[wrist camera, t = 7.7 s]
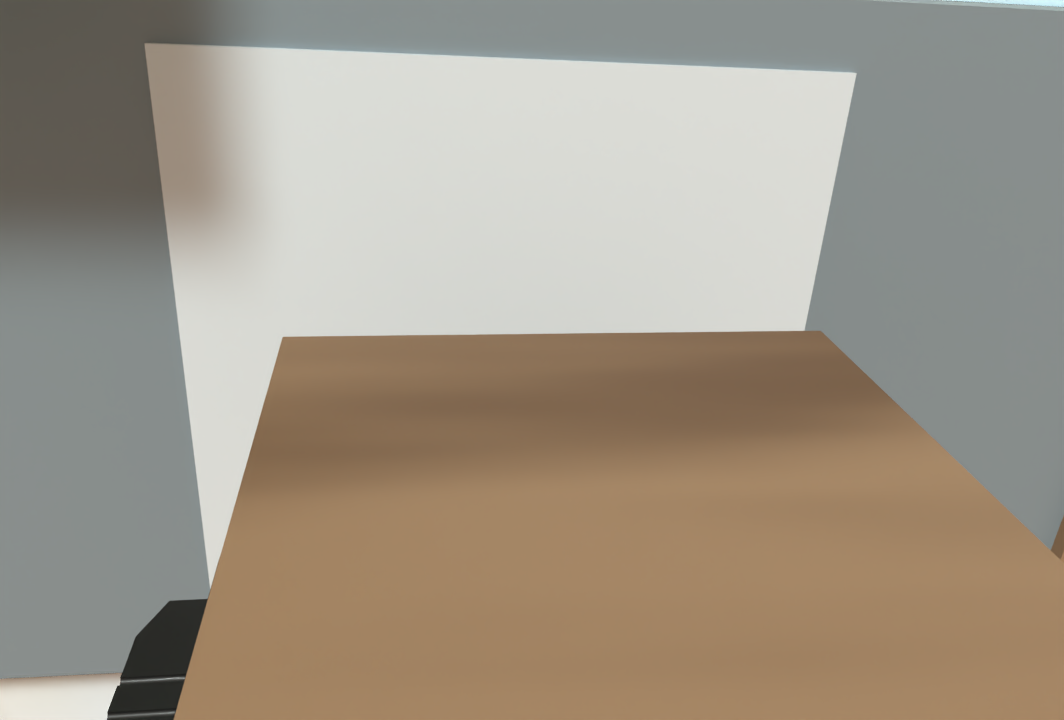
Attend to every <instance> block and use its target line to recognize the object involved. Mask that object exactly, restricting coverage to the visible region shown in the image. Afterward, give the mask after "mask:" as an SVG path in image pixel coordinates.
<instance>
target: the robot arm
mask: <svg viewBox="0 0 1064 720" xmlns="http://www.w3.org/2000/svg"><path fill="white" fill-rule="evenodd" d="M219 559H220V558H219ZM218 562H219V561H218ZM217 566H218V564H217ZM216 569H217V568H216ZM215 573H216V571H215ZM214 576H215V575H214ZM213 580H214V578H213ZM212 583H213V582H212ZM211 587H212V585H211ZM210 590H211V589H210ZM209 594H210V592H209ZM208 597H209V596H208ZM207 601H208V599H194V600H173V601H169V602H168V603H167V604H166V605H165V606H164V607H163V608H162V609H161V610H160V611H159V612H158V613H157V614H156V615H155V617H154V618H153V619H152V620H151V621H150V622H149V623H148V624H147V625H146V626H145V627H144V628H143V629H142V630H141V631H140V632H139V634H138V635H137V636H136V637H135V640H134V643H133V645H132V648H131V651H130V653H129V656H128V659H127V661H126V664H125V667H124V669H123V672H122V675H121V677H120V678H121V682H120V686H117V688H116V691H115V694H114V696H113V699H112V702H111V704H110V707H109V710H108V718H107V720H174V717H175V713H176V710H177V706H178V703H179V699H180V695H181V692H182V688H183V685H184V681H185V678H186V674H187V671H188V667H189V664H190V660H191V657H192V653H193V650H194V646H195V643H196V639H197V636H198V632H199V629H200V625H201V622H202V618H203V615H204V611H205V608H206V604H207Z"/></svg>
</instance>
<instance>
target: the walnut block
mask: <svg viewBox="0 0 1064 720" xmlns="http://www.w3.org/2000/svg"><path fill="white" fill-rule="evenodd" d="M174 720H1064V563H1063V562H1062V561H1061V560H1060V559H1059V558H1058V557H1057V556H1056V555H1055V554H1054V553H1053V552H1052V551H1051V550H1050V549H1049V548H1047V547H1046V546H1045V545H1044V544H1043V543H1042V542H1041V541H1040V540H1039V539H1038V538H1037V537H1036V536H1035V535H1034V534H1033V533H1032V532H1031V531H1030V530H1029V529H1028V528H1027V527H1025V526H1024V525H1023V524H1022V523H1021V522H1020V521H1019V520H1018V519H1017V518H1016V517H1015V516H1014V515H1013V514H1012V513H1011V512H1010V511H1009V510H1008V509H1007V508H1006V507H1005V506H1004V505H1002V504H1001V503H1000V502H999V501H998V500H997V499H996V498H995V497H994V496H993V495H992V494H991V493H990V492H989V491H988V490H987V489H986V488H985V487H984V486H983V485H982V484H981V483H979V482H978V481H977V480H976V479H975V478H974V477H973V476H972V475H971V474H970V473H969V472H968V471H967V470H966V469H965V468H964V467H963V466H962V465H961V464H960V463H959V462H958V461H956V460H955V459H954V458H953V457H952V456H951V455H950V454H949V453H948V452H947V451H946V450H945V449H944V448H943V447H942V446H941V445H940V444H939V443H938V442H937V441H936V440H935V439H933V438H932V437H931V436H930V435H929V434H928V433H927V432H926V431H925V430H924V429H923V428H922V427H921V426H920V425H919V424H918V423H917V422H916V421H915V420H914V419H913V418H911V417H910V416H909V415H908V414H907V413H906V412H905V411H904V410H903V409H902V408H901V407H900V406H899V405H898V404H897V403H896V402H895V401H894V400H893V399H892V398H891V397H890V396H888V395H887V394H886V393H885V392H884V391H883V390H882V389H881V388H880V387H879V386H878V385H877V384H876V383H875V382H874V381H873V380H872V379H871V378H870V377H869V376H868V375H867V374H865V373H864V372H863V371H862V370H861V369H860V368H859V367H858V366H857V365H856V364H855V363H854V362H853V361H852V360H851V359H850V358H849V357H848V356H847V355H846V354H845V353H844V352H842V351H841V350H840V349H839V348H838V347H837V346H836V345H835V344H834V343H833V342H832V341H831V340H830V339H829V338H828V337H827V336H826V335H825V334H824V333H823V332H822V331H744V332H655V333H567V334H478V335H390V336H301V337H282V341H281V344H280V348H279V351H278V355H277V359H276V362H275V366H274V369H273V373H272V376H271V380H270V383H269V387H268V390H267V394H266V397H265V401H264V404H263V408H262V411H261V415H260V418H259V422H258V425H257V429H256V432H255V436H254V439H253V443H252V446H251V450H250V453H249V457H248V460H247V464H246V467H245V471H244V474H243V478H242V481H241V485H240V488H239V492H238V495H237V499H236V502H235V506H234V509H233V513H232V516H231V520H230V523H229V527H228V531H227V534H226V538H225V541H224V545H223V548H222V552H221V555H220V559H219V562H218V566H217V569H216V573H215V576H214V580H213V583H212V587H211V590H210V594H209V597H208V601H207V604H206V608H205V611H204V615H203V618H202V622H201V625H200V629H199V632H198V636H197V639H196V643H195V646H194V650H193V653H192V657H191V660H190V664H189V667H188V671H187V674H186V678H185V681H184V685H183V688H182V692H181V695H180V699H179V703H178V706H177V710H176V713H175V717H174Z"/></svg>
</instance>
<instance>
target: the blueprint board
mask: <svg viewBox="0 0 1064 720" xmlns="http://www.w3.org/2000/svg"><path fill="white" fill-rule="evenodd" d="M744 331H822V332H823V333H824V334H825V335H826V336H827V337H828V338H829V339H830V340H831V341H832V342H833V343H834V344H835V345H836V346H837V347H838V348H839V349H840V350H841V351H842V352H844V353H845V354H846V355H847V356H848V357H849V358H850V359H851V360H852V361H853V362H854V363H855V364H856V365H857V366H858V367H859V368H860V369H861V370H862V371H863V372H864V373H865V374H867V375H868V376H869V377H870V378H871V379H872V380H873V381H874V382H875V383H876V384H877V385H878V386H879V387H880V388H881V389H882V390H883V391H884V392H885V393H886V394H887V395H888V396H890V397H891V398H892V399H893V400H894V401H895V402H896V403H897V404H898V405H899V406H900V407H901V408H902V409H903V410H904V411H905V412H906V413H907V414H908V415H909V416H910V417H911V418H913V419H914V420H915V421H916V422H917V423H918V424H919V425H920V426H921V427H922V428H923V429H924V430H925V431H926V432H927V433H928V434H929V435H930V436H931V437H932V438H933V439H935V440H936V441H937V442H938V443H939V444H940V445H941V446H942V447H943V448H944V449H945V450H946V451H947V452H948V453H949V454H950V455H951V456H952V457H953V458H954V459H955V460H956V461H958V462H959V463H960V464H961V465H962V466H963V467H964V468H965V469H966V470H967V471H968V472H969V473H970V474H971V475H972V476H973V477H974V478H975V479H976V480H977V481H978V482H979V483H981V484H982V485H983V486H984V487H985V488H986V489H987V490H988V491H989V492H990V493H991V494H992V495H993V496H994V497H995V498H996V499H997V500H998V501H999V502H1000V503H1001V504H1002V505H1004V506H1005V507H1006V508H1007V509H1008V510H1009V511H1010V512H1011V513H1012V514H1013V515H1014V516H1015V517H1016V518H1017V519H1018V520H1019V521H1020V522H1021V523H1022V524H1023V525H1024V526H1025V527H1027V528H1028V529H1029V530H1030V531H1031V532H1032V533H1033V534H1034V535H1035V536H1036V537H1037V538H1038V539H1039V540H1040V541H1041V542H1042V543H1043V544H1044V545H1045V546H1046V547H1047V548H1049V549H1050V550H1051V551H1052V552H1053V553H1054V554H1055V555H1056V556H1057V557H1058V558H1059V559H1060V560H1061V561H1062V562H1063V563H1064V7H1053V6H1035V5H1017V4H999V3H981V2H962V1H944V0H0V679H5V678H25V677H45V676H65V675H85V674H105V673H122V672H123V669H124V667H125V664H126V661H127V659H128V656H129V653H130V651H131V648H132V645H133V643H134V640H135V637H136V636H137V635H138V634H139V632H140V631H141V630H142V629H143V628H144V627H145V626H146V625H147V624H148V623H149V622H150V621H151V620H152V619H153V618H154V617H155V615H156V614H157V613H158V612H159V611H160V610H161V609H162V608H163V607H164V606H165V605H166V604H167V603H168V602H169V601H173V600H194V599H208V596H209V592H210V589H211V585H212V582H213V578H214V575H215V571H216V568H217V564H218V561H219V558H220V555H221V552H222V548H223V545H224V541H225V538H226V534H227V531H228V527H229V523H230V520H231V516H232V513H233V509H234V506H235V502H236V499H237V495H238V492H239V488H240V485H241V481H242V478H243V474H244V471H245V467H246V464H247V460H248V457H249V453H250V450H251V446H252V443H253V439H254V436H255V432H256V429H257V425H258V422H259V418H260V415H261V411H262V408H263V404H264V401H265V397H266V394H267V390H268V387H269V383H270V380H271V376H272V373H273V369H274V366H275V362H276V359H277V355H278V351H279V348H280V344H281V341H282V337H301V336H390V335H478V334H567V333H655V332H744Z"/></svg>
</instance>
